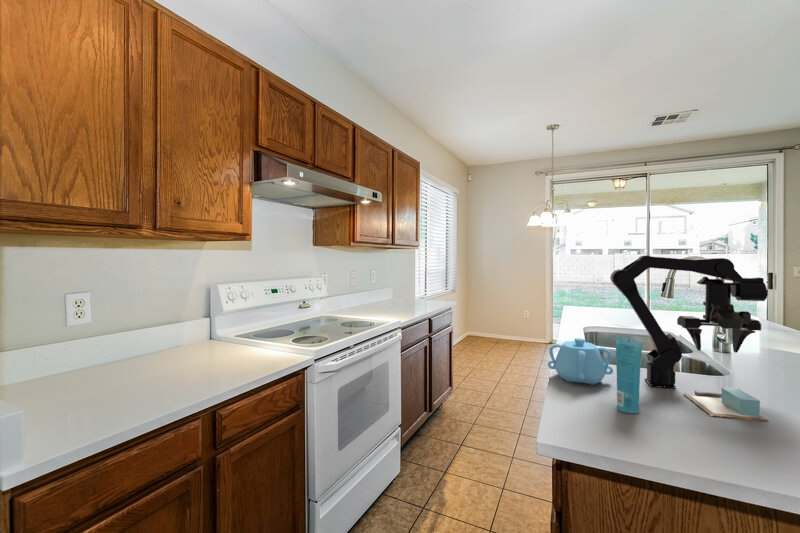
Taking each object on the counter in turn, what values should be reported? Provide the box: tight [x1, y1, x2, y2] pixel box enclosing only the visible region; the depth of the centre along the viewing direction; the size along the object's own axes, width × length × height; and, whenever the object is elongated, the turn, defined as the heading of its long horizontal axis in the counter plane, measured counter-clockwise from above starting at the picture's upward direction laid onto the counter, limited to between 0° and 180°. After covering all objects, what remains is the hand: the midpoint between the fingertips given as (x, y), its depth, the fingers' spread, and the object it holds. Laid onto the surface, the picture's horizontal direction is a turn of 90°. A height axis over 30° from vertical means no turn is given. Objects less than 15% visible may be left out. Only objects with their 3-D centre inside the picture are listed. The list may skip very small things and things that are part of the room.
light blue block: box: [721, 387, 761, 417], centre depth 97 cm, size 10×4×4 cm, turn 164°
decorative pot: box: [547, 337, 614, 386], centre depth 121 cm, size 16×16×14 cm
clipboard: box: [682, 390, 770, 422], centre depth 98 cm, size 12×15×1 cm
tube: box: [614, 335, 644, 414], centre depth 97 cm, size 7×5×19 cm, turn 29°
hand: (716, 351), depth 110 cm, fingers open, 9 cm apart
